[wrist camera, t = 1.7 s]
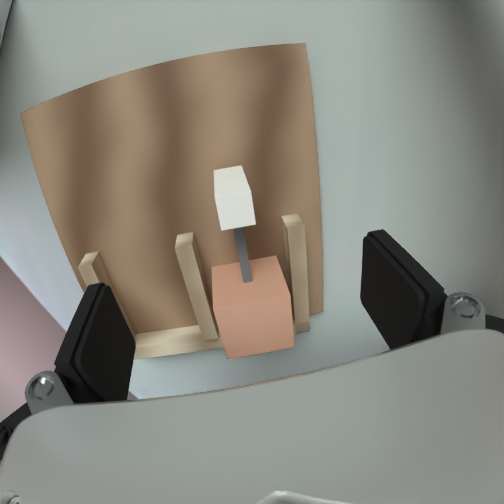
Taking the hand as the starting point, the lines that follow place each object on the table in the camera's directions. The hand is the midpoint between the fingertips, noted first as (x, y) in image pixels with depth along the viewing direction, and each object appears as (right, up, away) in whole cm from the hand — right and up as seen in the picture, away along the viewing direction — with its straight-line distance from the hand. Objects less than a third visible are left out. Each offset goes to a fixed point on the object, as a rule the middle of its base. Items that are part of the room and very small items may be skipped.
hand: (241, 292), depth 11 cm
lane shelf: (-5, +4, +12) cm, 14 cm away
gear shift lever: (0, +2, +13) cm, 13 cm away
